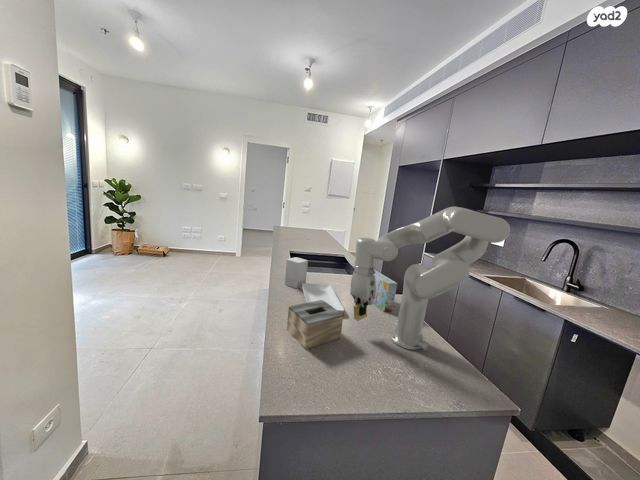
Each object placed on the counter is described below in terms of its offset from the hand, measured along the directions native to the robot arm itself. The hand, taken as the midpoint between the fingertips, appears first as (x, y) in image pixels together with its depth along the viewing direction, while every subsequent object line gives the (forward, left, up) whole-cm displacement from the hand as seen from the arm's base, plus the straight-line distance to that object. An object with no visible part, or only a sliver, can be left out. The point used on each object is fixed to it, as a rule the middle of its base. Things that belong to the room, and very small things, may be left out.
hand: (360, 313), depth 107 cm
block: (0, -1, -2) cm, 2 cm away
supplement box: (+54, -2, -9) cm, 55 cm away
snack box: (+18, -31, -9) cm, 37 cm away
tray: (+31, -3, -9) cm, 32 cm away
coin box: (+7, +17, -9) cm, 20 cm away
